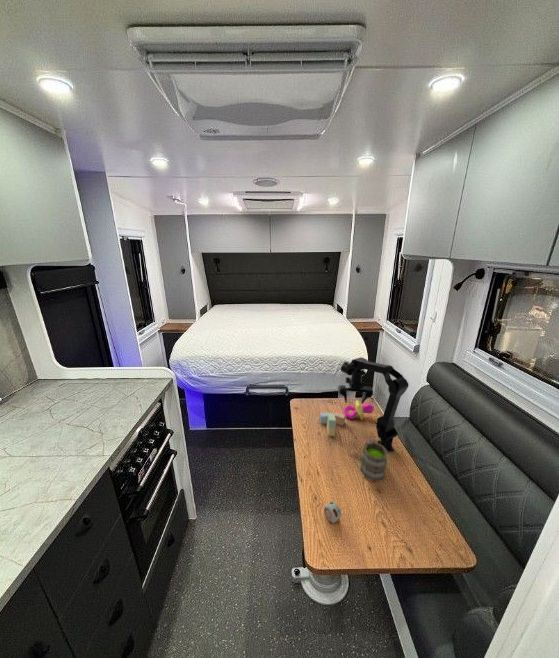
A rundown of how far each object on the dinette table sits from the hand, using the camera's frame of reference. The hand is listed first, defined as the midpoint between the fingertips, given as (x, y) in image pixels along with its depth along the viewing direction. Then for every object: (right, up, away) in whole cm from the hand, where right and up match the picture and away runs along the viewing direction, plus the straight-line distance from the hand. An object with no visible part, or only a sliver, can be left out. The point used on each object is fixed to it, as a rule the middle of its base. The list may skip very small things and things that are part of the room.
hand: (353, 403), depth 149 cm
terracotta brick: (-8, -12, +2) cm, 15 cm away
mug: (0, -22, -29) cm, 36 cm away
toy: (+5, -10, +8) cm, 14 cm away
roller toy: (-23, -29, -51) cm, 63 cm away
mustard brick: (-15, -14, -6) cm, 21 cm away
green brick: (-15, -10, -8) cm, 19 cm away
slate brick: (-16, -12, +2) cm, 20 cm away
